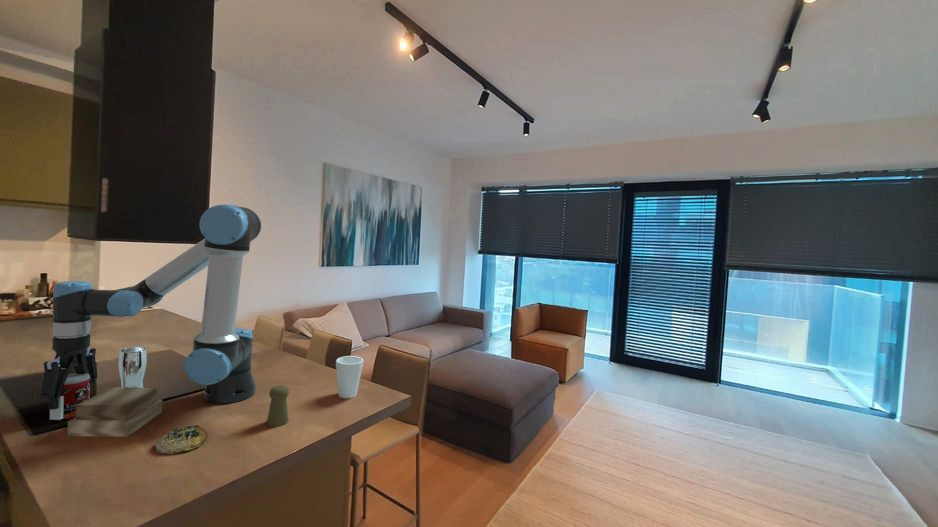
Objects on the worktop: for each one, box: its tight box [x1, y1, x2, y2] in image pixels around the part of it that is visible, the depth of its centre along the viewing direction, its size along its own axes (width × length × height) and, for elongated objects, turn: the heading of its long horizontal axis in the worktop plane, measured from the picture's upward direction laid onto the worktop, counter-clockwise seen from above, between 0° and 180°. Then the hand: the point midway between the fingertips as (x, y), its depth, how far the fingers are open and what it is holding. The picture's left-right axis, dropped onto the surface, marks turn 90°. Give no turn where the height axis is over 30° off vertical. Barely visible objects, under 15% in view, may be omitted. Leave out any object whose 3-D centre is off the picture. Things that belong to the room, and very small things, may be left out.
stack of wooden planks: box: [67, 386, 164, 438], centre depth 106 cm, size 14×14×8 cm
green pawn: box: [266, 384, 290, 428], centre depth 114 cm, size 6×6×11 cm
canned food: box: [55, 372, 91, 420], centre depth 109 cm, size 8×8×11 cm
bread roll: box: [153, 424, 208, 455], centre depth 99 cm, size 11×11×5 cm
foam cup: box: [335, 355, 364, 399], centre depth 137 cm, size 10×9×13 cm
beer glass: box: [118, 346, 148, 388], centre depth 124 cm, size 7×7×15 cm
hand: (70, 412), depth 109 cm, fingers closed on canned food, 8 cm apart
